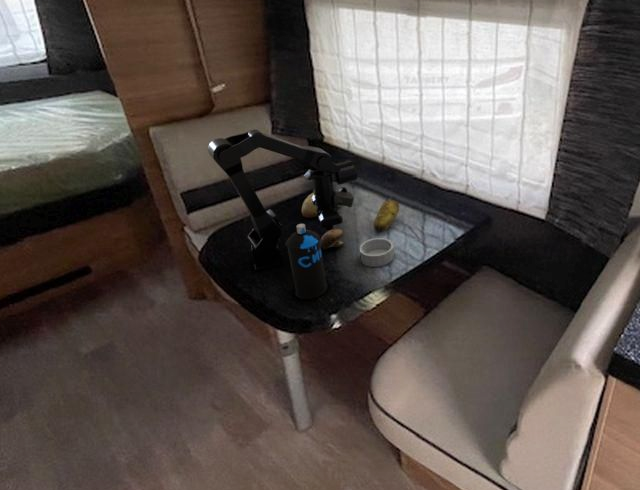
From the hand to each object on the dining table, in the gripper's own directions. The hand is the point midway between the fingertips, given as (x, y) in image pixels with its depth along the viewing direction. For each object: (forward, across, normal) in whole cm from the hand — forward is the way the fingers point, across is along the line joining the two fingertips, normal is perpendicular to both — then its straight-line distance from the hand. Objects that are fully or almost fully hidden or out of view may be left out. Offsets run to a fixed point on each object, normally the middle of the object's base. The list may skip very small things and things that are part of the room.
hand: (329, 231), depth 135 cm
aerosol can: (+3, -24, +10) cm, 26 cm away
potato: (+3, +1, -19) cm, 19 cm away
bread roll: (+4, +21, -1) cm, 21 cm away
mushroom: (+3, -4, 0) cm, 5 cm away
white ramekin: (+3, -17, -11) cm, 20 cm away
